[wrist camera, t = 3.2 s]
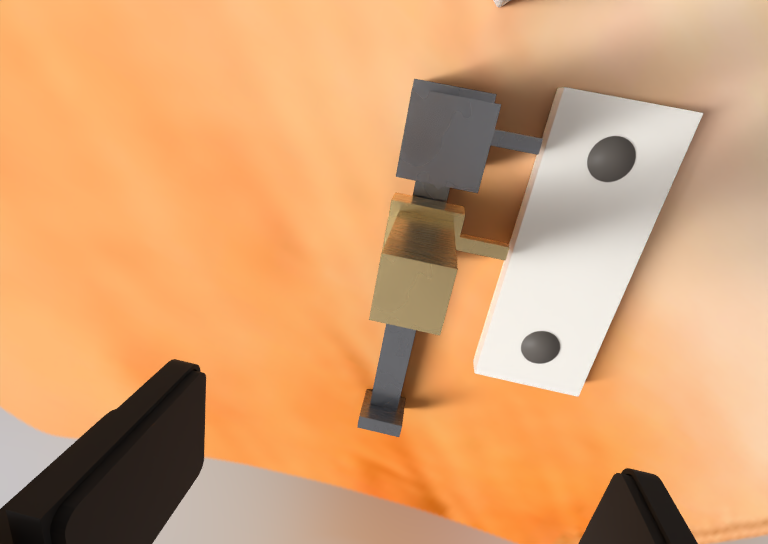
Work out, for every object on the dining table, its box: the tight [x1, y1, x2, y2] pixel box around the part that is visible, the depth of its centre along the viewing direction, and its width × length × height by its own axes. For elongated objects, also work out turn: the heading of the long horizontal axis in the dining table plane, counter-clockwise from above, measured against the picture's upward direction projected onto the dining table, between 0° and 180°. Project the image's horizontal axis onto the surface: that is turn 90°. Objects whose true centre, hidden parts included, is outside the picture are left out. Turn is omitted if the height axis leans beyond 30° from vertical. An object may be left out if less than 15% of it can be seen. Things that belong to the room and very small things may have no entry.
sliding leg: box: [369, 193, 510, 335], centre depth 21 cm, size 4×7×9 cm, turn 80°
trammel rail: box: [358, 79, 543, 437], centre depth 23 cm, size 22×7×11 cm, turn 170°
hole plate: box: [473, 87, 703, 396], centre depth 26 cm, size 18×7×2 cm, turn 170°
